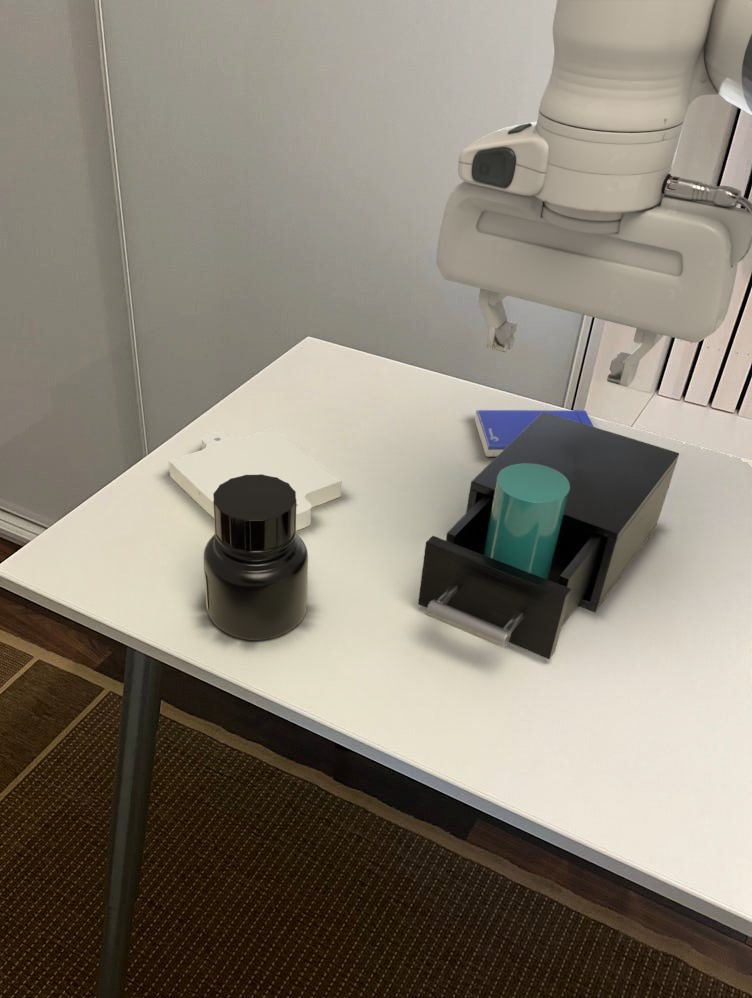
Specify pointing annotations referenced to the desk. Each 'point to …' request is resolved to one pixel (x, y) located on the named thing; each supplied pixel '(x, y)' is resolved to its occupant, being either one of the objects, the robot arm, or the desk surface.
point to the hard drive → (513, 425)
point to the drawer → (506, 584)
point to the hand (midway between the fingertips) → (558, 364)
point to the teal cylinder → (527, 517)
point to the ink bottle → (255, 559)
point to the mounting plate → (255, 469)
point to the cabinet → (594, 486)
